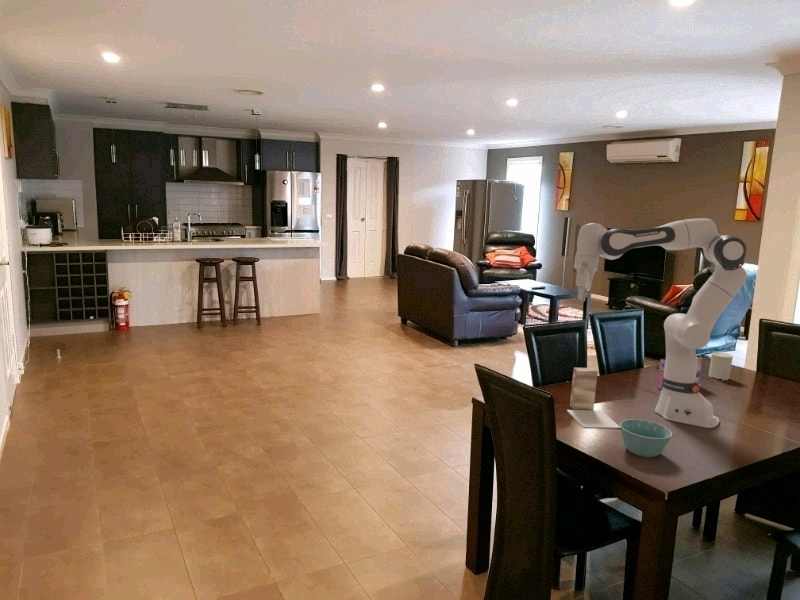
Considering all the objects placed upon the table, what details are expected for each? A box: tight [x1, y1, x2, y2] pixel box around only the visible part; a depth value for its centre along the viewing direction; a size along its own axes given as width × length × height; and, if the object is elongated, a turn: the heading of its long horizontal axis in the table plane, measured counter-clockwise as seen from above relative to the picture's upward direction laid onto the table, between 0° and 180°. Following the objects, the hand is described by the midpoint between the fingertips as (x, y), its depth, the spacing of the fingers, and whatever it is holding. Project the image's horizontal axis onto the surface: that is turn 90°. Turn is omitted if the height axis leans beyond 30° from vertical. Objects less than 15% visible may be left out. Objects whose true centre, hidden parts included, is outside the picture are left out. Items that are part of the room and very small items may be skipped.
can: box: [708, 351, 734, 381], centre depth 284 cm, size 9×9×12 cm
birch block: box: [569, 367, 598, 410], centre depth 230 cm, size 4×8×16 cm, turn 94°
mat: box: [566, 409, 621, 429], centre depth 220 cm, size 17×14×1 cm
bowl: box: [619, 418, 673, 458], centre depth 192 cm, size 16×16×8 cm
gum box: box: [656, 356, 703, 390], centre depth 266 cm, size 24×8×14 cm, turn 125°
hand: (581, 299), depth 227 cm, fingers open, 8 cm apart
